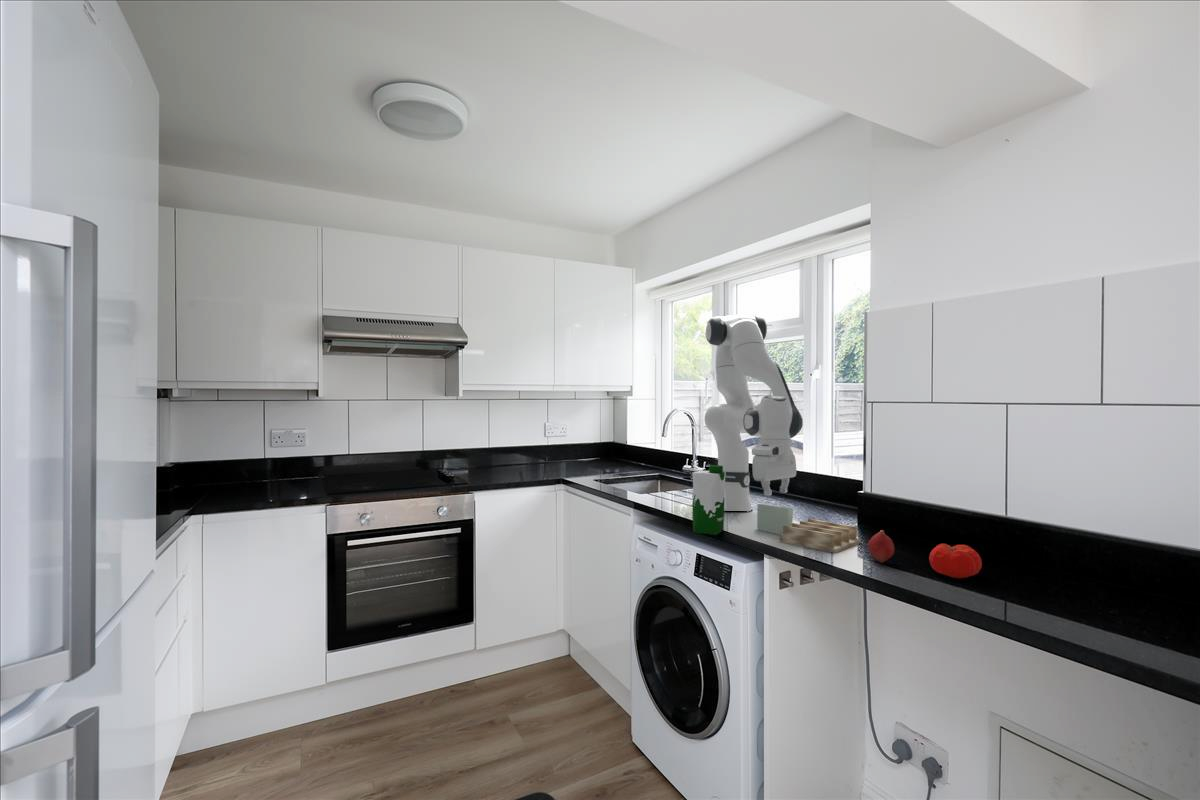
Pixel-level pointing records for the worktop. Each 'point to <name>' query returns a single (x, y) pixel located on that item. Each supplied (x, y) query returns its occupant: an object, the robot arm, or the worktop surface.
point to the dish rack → (821, 535)
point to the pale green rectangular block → (773, 517)
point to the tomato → (955, 560)
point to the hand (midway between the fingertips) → (775, 494)
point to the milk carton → (708, 500)
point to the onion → (881, 547)
